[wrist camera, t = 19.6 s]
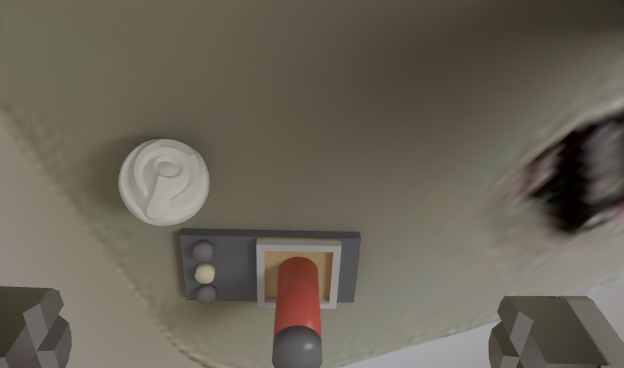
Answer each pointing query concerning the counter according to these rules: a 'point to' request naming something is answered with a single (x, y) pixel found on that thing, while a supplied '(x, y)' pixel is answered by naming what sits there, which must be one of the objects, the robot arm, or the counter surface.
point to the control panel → (265, 263)
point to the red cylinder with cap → (297, 316)
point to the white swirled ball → (163, 182)
